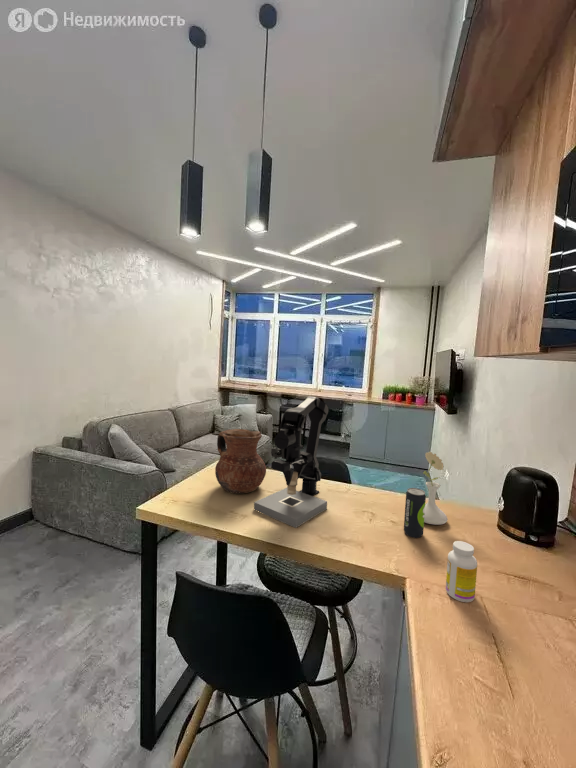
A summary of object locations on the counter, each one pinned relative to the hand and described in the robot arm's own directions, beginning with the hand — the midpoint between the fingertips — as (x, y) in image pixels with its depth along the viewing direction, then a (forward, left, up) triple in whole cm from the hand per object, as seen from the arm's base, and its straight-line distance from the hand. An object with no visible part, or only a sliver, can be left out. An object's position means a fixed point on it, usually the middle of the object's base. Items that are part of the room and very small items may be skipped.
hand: (291, 482), depth 129 cm
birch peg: (0, 0, -4) cm, 4 cm away
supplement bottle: (+8, +61, -11) cm, 62 cm away
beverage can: (-14, +42, -11) cm, 45 cm away
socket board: (0, 0, -10) cm, 10 cm away
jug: (-1, -29, -11) cm, 31 cm away
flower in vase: (-29, +43, -11) cm, 53 cm away
